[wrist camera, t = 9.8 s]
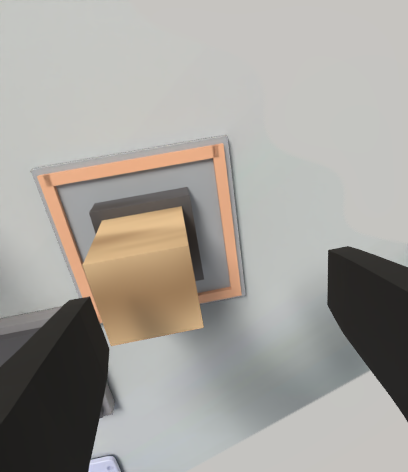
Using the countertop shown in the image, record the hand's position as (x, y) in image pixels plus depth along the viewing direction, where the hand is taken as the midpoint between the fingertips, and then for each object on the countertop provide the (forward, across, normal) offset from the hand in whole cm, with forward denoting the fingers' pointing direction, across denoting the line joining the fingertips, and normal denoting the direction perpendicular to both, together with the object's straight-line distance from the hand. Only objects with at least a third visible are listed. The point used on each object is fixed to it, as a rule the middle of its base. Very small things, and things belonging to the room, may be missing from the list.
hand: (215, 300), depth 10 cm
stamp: (+9, +2, +2) cm, 9 cm away
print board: (+10, +3, +2) cm, 10 cm away
